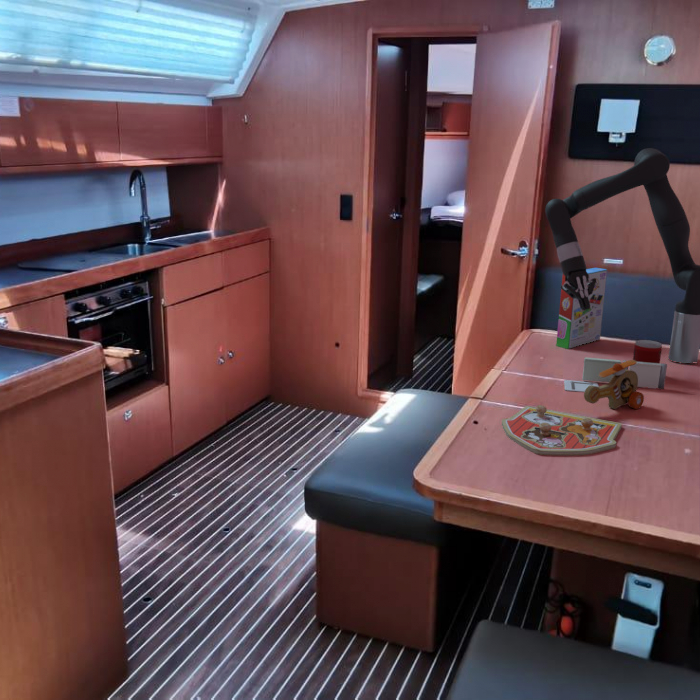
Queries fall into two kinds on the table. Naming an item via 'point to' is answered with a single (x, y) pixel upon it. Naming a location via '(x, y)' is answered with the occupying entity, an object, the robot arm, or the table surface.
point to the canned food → (647, 351)
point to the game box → (581, 314)
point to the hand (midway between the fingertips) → (586, 309)
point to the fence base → (649, 374)
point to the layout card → (577, 385)
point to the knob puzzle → (560, 432)
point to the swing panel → (597, 369)
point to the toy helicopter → (617, 387)
